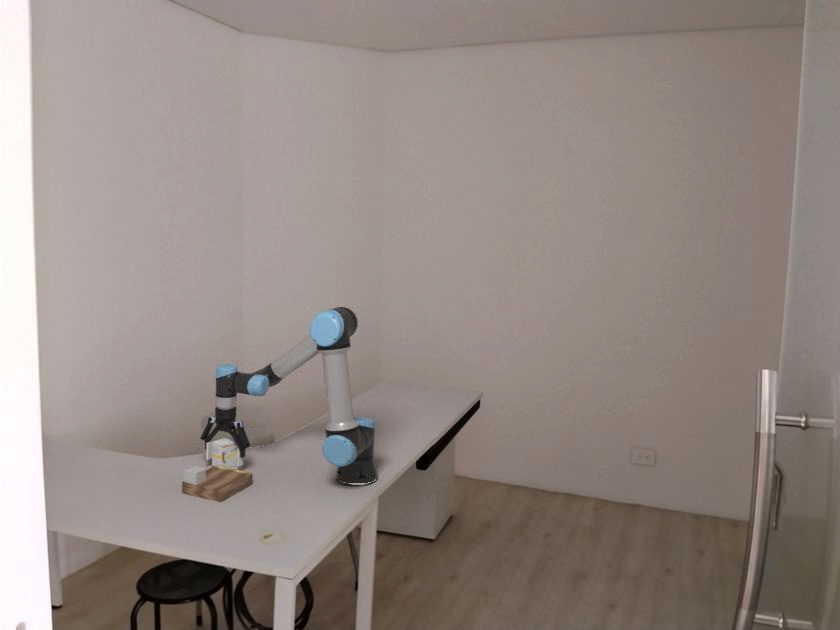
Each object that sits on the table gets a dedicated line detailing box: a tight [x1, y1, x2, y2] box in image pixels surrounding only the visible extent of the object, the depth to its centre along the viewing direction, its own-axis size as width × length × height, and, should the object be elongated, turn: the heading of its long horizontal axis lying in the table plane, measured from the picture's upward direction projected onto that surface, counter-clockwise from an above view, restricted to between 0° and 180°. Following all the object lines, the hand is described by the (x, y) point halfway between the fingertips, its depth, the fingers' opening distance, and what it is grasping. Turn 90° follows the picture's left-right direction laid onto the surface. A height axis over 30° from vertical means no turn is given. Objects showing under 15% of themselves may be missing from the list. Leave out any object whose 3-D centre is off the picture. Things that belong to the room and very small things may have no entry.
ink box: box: [211, 436, 239, 470], centre depth 268 cm, size 9×5×12 cm, turn 141°
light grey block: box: [183, 465, 207, 485], centre depth 247 cm, size 5×5×4 cm
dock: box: [181, 465, 254, 503], centre depth 251 cm, size 16×18×4 cm
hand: (224, 462), depth 268 cm, fingers open, 13 cm apart
